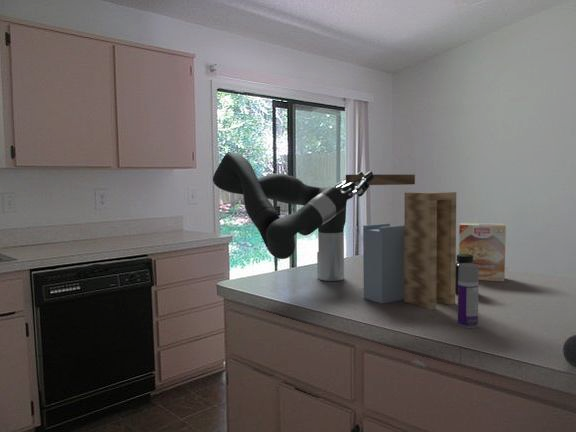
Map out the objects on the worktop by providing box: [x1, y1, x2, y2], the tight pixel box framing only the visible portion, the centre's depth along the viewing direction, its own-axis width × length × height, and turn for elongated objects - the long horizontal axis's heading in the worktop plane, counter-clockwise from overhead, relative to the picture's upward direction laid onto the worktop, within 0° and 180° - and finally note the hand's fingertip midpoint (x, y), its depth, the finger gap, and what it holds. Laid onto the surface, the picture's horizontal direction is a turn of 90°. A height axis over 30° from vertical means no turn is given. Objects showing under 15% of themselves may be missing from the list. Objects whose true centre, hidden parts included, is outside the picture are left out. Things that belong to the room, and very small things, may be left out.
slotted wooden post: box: [403, 191, 457, 310], centre depth 131 cm, size 10×10×32 cm
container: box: [457, 263, 480, 329], centre depth 111 cm, size 5×5×15 cm
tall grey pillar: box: [362, 222, 405, 305], centre depth 137 cm, size 8×10×22 cm
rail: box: [345, 174, 416, 186], centre depth 134 cm, size 4×24×3 cm, turn 121°
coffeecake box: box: [458, 222, 507, 282], centre depth 161 cm, size 15×7×20 cm, turn 68°
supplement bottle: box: [455, 253, 473, 295], centre depth 141 cm, size 7×7×12 cm
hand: (367, 174), depth 131 cm, fingers closed on rail, 3 cm apart
